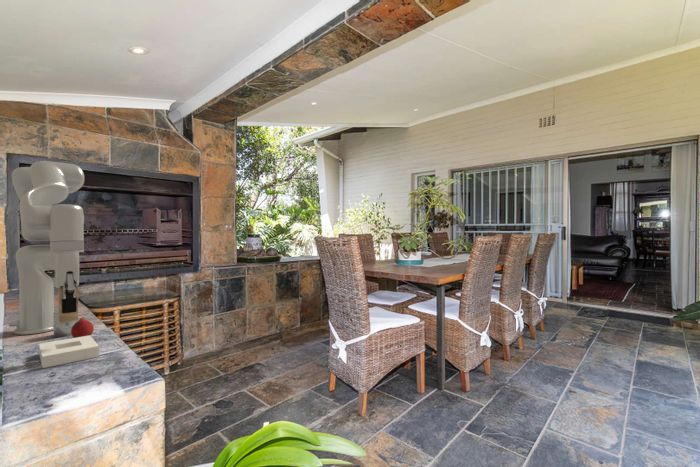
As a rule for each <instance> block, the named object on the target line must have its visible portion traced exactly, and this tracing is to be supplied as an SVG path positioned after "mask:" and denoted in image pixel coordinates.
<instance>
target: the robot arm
mask: <svg viewBox="0 0 700 467" xmlns="http://www.w3.org/2000/svg"><path fill="white" fill-rule="evenodd" d="M11 179H12V180H11V181H12V185H13V188H14V191H15V193H16V195H17V197H18V200H19V215H20V231H21V236H22V238H23V239H24V240H25V241H29V242H49V244H30V245H25V246H22V247H20V248H19V249H17V251H16V252H15V262H16V266H17V272H18V284H19V285H18V286H19V288H18V289H19V291H18V292H19V319H15V320H13V319H12V320H11V321H10V323H9V324H8V326H9V327H16V329H14V330H13V334H14V335H18V336H20V335H21V336H23V335H34V334H40V333H46V332H51V331H54V313H55V288H56V289H58V288H60V286H63V299H62V313H71V312H76V311H77V299H76V287H77V286H78V287H79V285H80V253H84V252H85V244H84V243H85V240H84V239H85V238H84V236H85V233H84V231H85V229H84V228H85V227H84V225H85V214H84V209H83V207H82V206H80V205H78V204H68V203H67V204H65V203H63V204H60V203H62V202H64V201H65V200H66V199H67V198H68V196H69V194H73V193H75V192H77V191H78V190H80V189H81V188H82V187H83V185H84V184H85V173H84V171H83V169H82V168H81V167H80V166H79V165H77V164H75V163H69V162H68V163H67V162H58V161H52V160H51V161H49V160H40V161H39V160H38V161H35V162H34V163H32V164H30V166H20V167H16V168H14V170H13V171H12V174H11ZM51 270H52V271H54V280H53V278H52V277H51V276H50V275H48V274H47V273H46V272H45V271H51ZM75 285H76V286H75ZM65 286H67V287H65Z"/></svg>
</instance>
